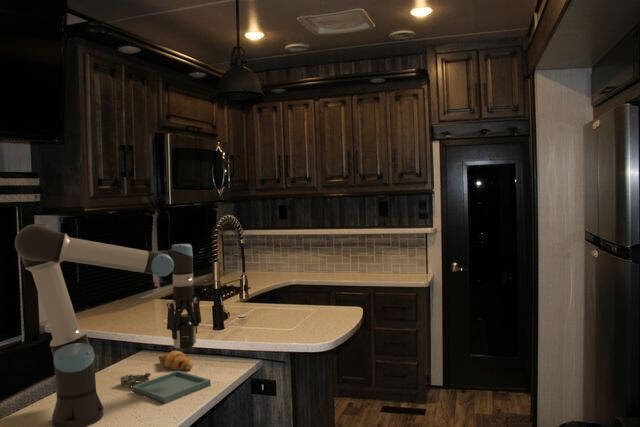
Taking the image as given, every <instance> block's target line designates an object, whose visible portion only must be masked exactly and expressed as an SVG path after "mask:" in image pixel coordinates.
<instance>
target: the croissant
mask: <svg viewBox="0 0 640 427" xmlns="http://www.w3.org/2000/svg"><path fill="white" fill-rule="evenodd" d="M158 360H159V364H160V365H161V366H162V367H163V368H164V369H167V370H170V371H172V370H174V371H183V370H184V371H188V370H191V369H193V367H194V364H193V361H192V360H191V359H190V357H189V356H187V355H186V354H185V353H184V352H183V351H180V350H172V351H170V352H167V353H166V354H163V355H161V356H158Z"/></svg>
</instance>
